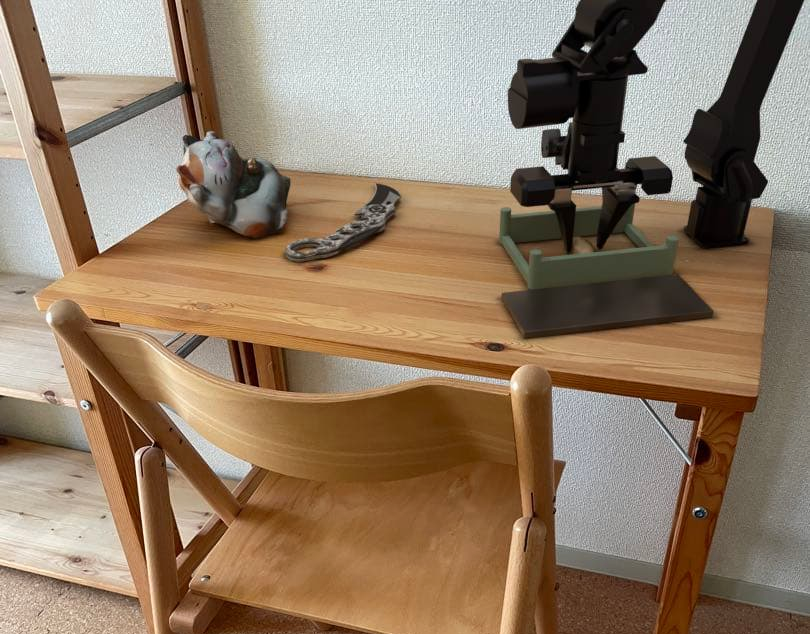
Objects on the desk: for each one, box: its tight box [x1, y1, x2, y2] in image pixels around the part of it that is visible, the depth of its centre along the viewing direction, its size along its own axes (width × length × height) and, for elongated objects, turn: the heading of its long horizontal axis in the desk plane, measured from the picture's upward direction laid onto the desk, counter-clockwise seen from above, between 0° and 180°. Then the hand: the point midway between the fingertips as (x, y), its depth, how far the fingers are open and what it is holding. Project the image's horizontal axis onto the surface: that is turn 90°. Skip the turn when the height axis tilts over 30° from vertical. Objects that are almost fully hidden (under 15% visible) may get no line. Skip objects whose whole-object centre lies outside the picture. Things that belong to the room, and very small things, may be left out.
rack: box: [498, 203, 680, 290], centre depth 108 cm, size 18×15×4 cm
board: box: [501, 273, 714, 339], centre depth 98 cm, size 22×10×1 cm, turn 99°
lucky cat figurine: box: [176, 130, 292, 240], centre depth 117 cm, size 15×12×14 cm
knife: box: [284, 182, 402, 263], centre depth 119 cm, size 28×2×10 cm
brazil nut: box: [569, 236, 596, 255], centre depth 109 cm, size 6×5×3 cm
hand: (583, 249), depth 108 cm, fingers open, 4 cm apart
